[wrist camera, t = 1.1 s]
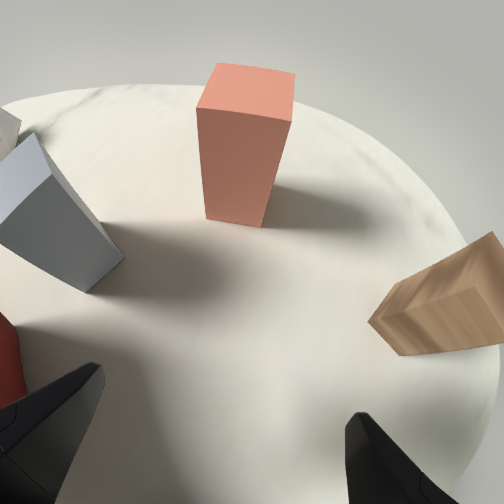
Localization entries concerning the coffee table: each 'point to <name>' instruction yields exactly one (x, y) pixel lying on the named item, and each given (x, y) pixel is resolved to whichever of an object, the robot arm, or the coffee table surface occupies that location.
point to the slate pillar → (51, 220)
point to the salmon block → (242, 139)
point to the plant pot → (10, 365)
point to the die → (8, 133)
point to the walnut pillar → (447, 303)
